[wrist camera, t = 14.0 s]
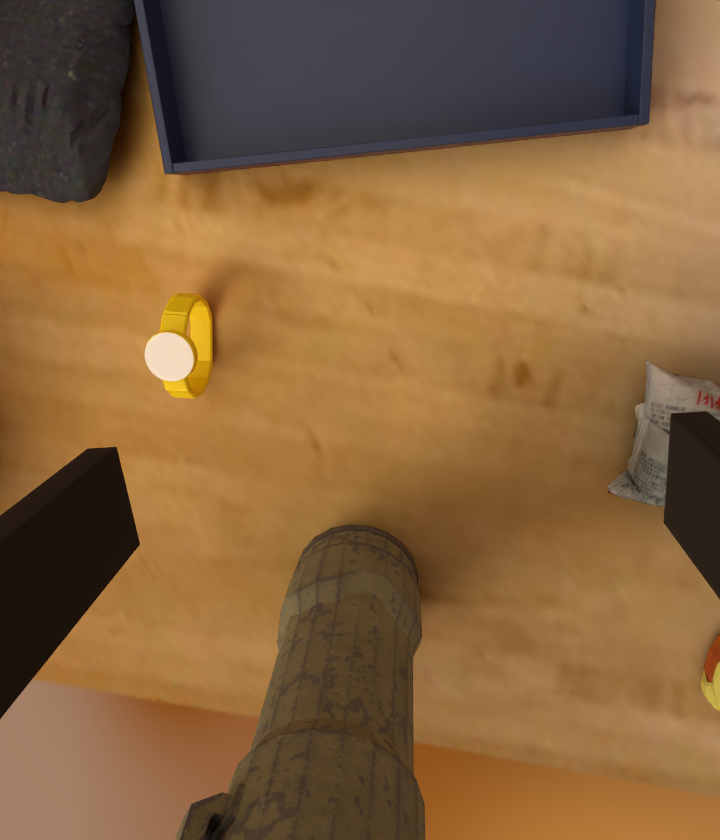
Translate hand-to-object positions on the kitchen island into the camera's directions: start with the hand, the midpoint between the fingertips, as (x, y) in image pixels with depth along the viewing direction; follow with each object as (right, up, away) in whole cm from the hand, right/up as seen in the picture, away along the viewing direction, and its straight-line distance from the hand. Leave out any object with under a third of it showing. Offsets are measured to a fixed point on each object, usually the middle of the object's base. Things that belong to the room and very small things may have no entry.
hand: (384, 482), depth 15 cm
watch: (-11, +7, +25) cm, 28 cm away
